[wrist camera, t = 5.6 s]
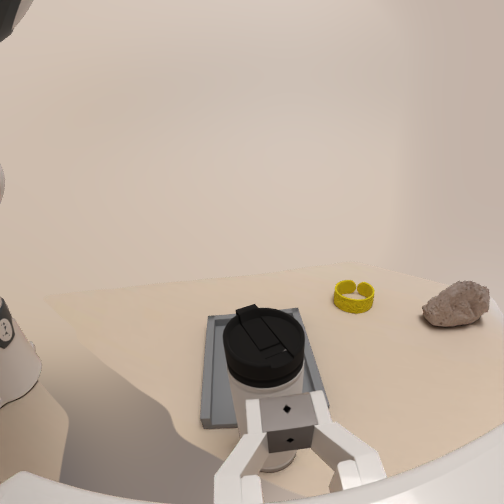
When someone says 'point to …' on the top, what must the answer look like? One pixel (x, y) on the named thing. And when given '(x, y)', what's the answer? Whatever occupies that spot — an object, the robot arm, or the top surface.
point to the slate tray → (217, 382)
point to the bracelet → (353, 304)
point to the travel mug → (263, 364)
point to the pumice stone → (457, 304)
